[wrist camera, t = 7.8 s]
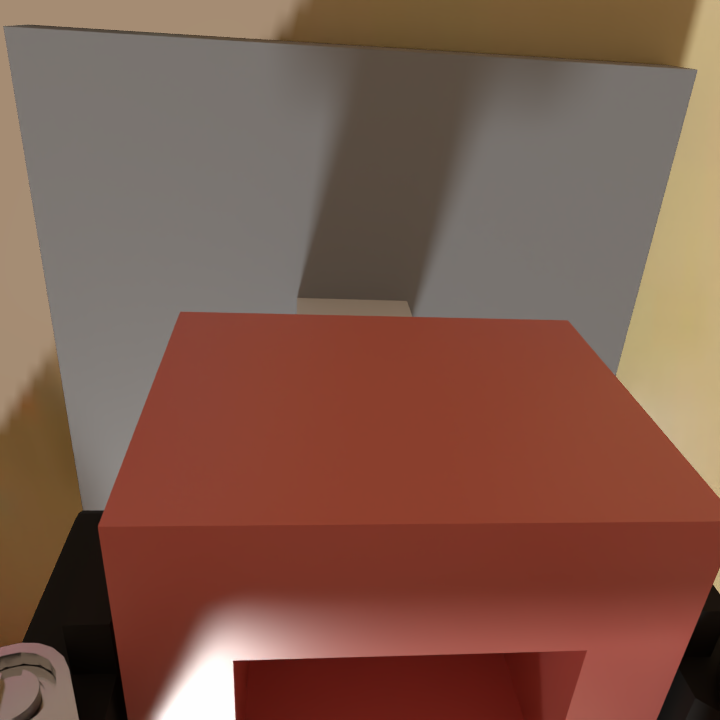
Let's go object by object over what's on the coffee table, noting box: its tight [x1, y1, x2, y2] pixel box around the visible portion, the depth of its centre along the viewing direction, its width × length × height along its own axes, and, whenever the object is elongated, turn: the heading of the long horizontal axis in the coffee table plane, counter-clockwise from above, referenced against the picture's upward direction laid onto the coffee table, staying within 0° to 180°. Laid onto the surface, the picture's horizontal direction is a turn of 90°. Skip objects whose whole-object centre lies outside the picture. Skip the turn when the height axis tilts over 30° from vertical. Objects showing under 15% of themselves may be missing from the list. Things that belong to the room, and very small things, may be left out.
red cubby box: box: [98, 312, 720, 720], centre depth 10 cm, size 6×6×5 cm
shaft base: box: [4, 25, 697, 510], centre depth 16 cm, size 16×14×8 cm
